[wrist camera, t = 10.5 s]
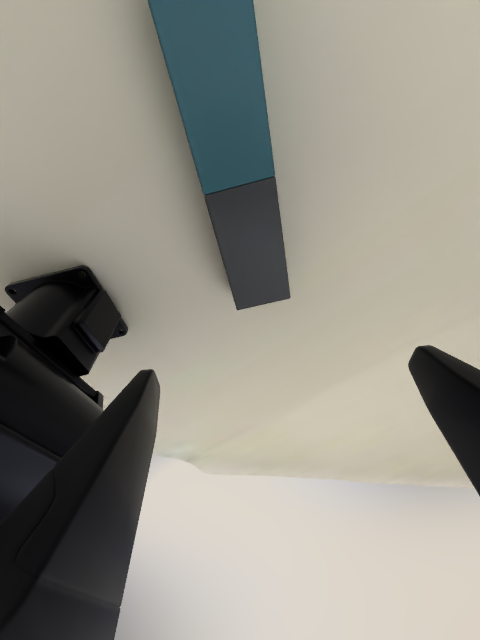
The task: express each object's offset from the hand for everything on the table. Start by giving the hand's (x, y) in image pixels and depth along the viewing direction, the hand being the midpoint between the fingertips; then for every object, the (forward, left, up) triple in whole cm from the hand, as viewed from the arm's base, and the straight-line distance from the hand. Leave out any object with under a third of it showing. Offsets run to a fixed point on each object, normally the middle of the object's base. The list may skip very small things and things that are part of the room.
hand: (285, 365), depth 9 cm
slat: (0, +4, -12) cm, 13 cm away
